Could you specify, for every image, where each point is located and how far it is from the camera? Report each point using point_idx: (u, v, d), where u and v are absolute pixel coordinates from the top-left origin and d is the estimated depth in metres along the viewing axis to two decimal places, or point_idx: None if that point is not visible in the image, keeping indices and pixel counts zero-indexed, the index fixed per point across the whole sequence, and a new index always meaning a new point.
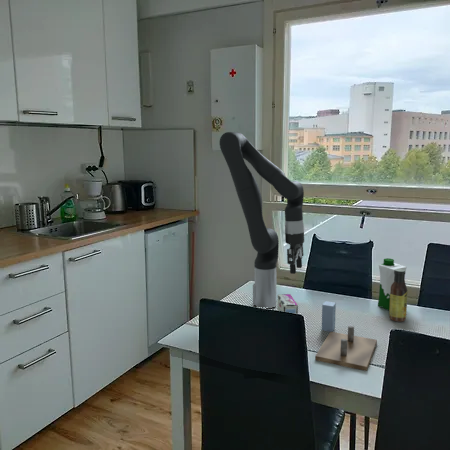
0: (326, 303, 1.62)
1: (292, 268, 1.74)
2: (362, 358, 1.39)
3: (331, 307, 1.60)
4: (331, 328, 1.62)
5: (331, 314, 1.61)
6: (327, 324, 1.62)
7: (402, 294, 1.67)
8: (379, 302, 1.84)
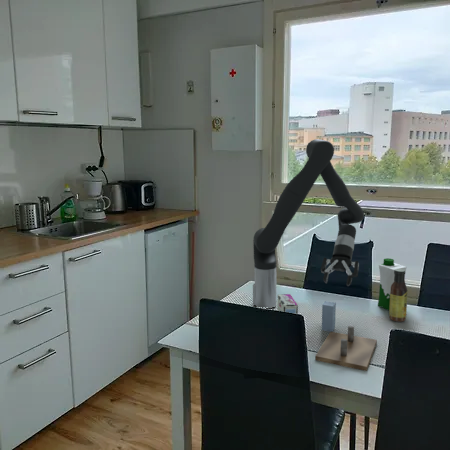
0: (327, 303, 1.62)
1: (351, 280, 1.70)
2: (362, 358, 1.39)
3: (331, 307, 1.60)
4: (331, 328, 1.62)
5: (331, 314, 1.61)
6: (327, 324, 1.62)
7: (402, 294, 1.67)
8: (379, 302, 1.84)
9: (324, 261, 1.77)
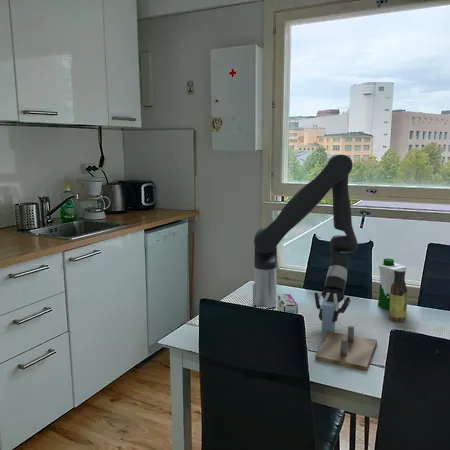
0: (326, 303, 1.62)
1: (337, 316, 1.62)
2: (362, 358, 1.39)
3: (331, 307, 1.60)
4: (331, 328, 1.62)
5: (331, 314, 1.61)
6: (327, 324, 1.62)
7: (402, 294, 1.67)
8: (379, 302, 1.84)
9: (316, 296, 1.68)
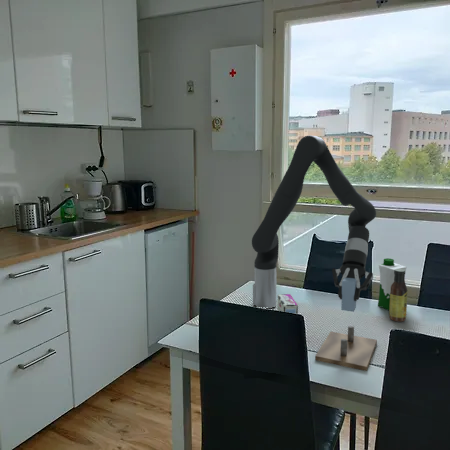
0: (347, 279, 1.44)
1: (359, 294, 1.43)
2: (362, 358, 1.39)
3: (352, 283, 1.42)
4: (352, 307, 1.43)
5: (352, 291, 1.43)
6: (347, 303, 1.44)
7: (402, 294, 1.67)
8: (379, 302, 1.84)
9: (334, 273, 1.49)
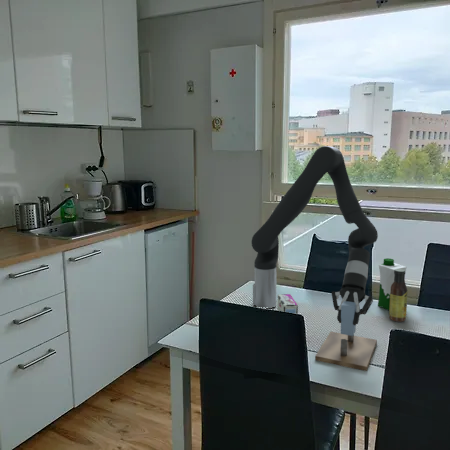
0: (346, 303, 1.44)
1: (358, 318, 1.43)
2: (362, 358, 1.39)
3: (351, 308, 1.41)
4: (351, 331, 1.43)
5: (351, 316, 1.42)
6: (346, 327, 1.43)
7: (402, 294, 1.67)
8: (379, 302, 1.84)
9: (334, 296, 1.49)
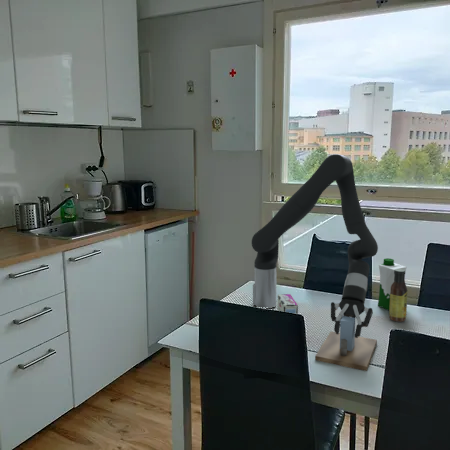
0: (345, 319, 1.45)
1: (360, 331, 1.43)
2: (362, 358, 1.39)
3: (351, 323, 1.42)
4: (350, 347, 1.44)
5: (351, 331, 1.43)
6: None
7: (402, 294, 1.67)
8: (379, 302, 1.84)
9: (333, 307, 1.50)
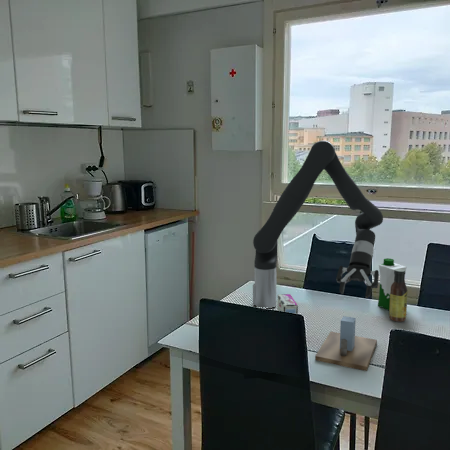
0: (345, 319, 1.45)
1: (370, 291, 1.54)
2: (362, 358, 1.39)
3: (351, 323, 1.42)
4: (350, 347, 1.44)
5: (351, 331, 1.43)
6: None
7: (402, 294, 1.67)
8: (379, 302, 1.84)
9: (340, 269, 1.61)
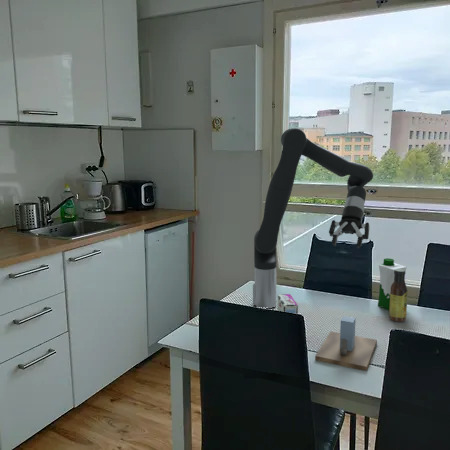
0: (345, 319, 1.45)
1: (361, 242, 1.61)
2: (362, 358, 1.39)
3: (351, 323, 1.42)
4: (350, 347, 1.44)
5: (351, 331, 1.43)
6: None
7: (402, 294, 1.67)
8: (379, 302, 1.84)
9: (333, 224, 1.68)
